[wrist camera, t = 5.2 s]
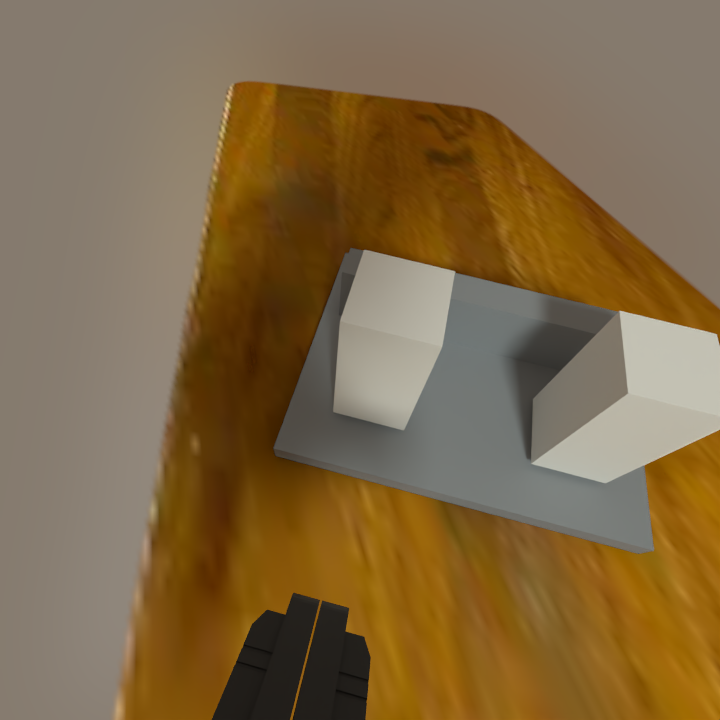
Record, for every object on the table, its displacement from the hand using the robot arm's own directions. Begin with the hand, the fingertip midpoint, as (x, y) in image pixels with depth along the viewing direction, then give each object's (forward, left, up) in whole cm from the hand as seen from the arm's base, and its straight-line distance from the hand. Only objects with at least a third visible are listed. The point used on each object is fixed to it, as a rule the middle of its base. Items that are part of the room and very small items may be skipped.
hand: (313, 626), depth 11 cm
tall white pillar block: (+7, -9, -9) cm, 15 cm away
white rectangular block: (-1, -16, -9) cm, 18 cm away
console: (+4, -14, -10) cm, 18 cm away
